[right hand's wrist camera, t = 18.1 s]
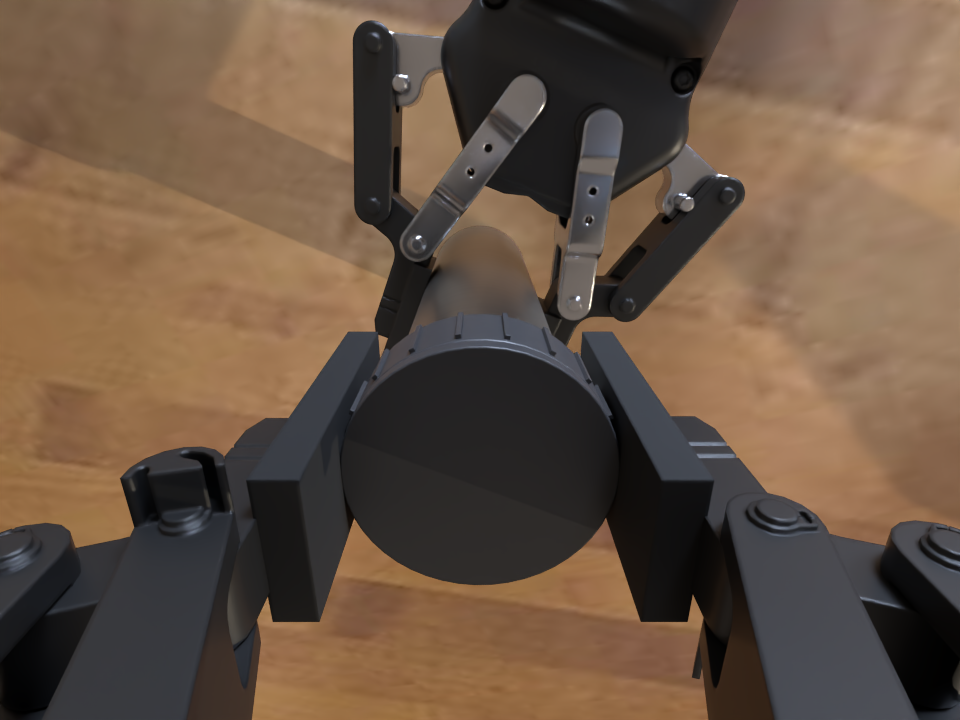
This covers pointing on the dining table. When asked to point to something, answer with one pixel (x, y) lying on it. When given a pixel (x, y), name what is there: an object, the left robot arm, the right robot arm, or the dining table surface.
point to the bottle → (480, 280)
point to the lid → (480, 451)
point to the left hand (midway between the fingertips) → (456, 368)
